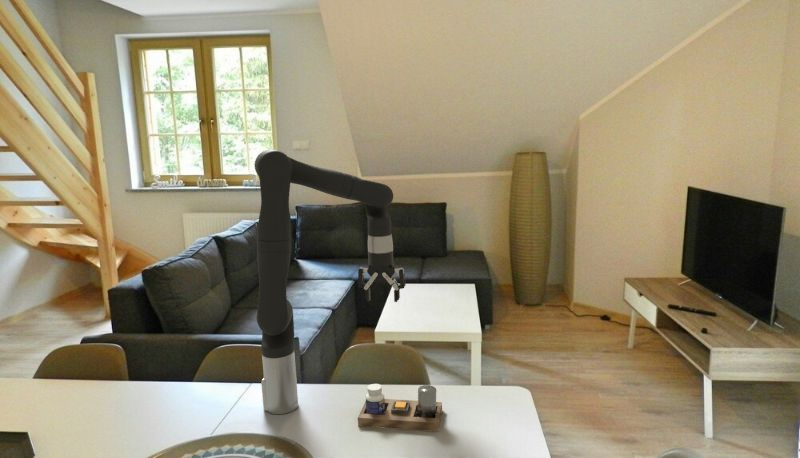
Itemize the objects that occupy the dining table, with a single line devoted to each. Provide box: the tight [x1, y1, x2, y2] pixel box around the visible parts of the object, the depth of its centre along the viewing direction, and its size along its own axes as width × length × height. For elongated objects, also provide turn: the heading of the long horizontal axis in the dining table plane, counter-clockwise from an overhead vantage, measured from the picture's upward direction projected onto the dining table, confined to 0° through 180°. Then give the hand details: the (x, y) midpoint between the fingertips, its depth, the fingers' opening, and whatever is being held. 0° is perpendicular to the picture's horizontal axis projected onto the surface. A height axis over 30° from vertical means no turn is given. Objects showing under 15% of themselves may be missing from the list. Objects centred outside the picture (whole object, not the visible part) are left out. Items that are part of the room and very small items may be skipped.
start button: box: [395, 402, 406, 409], centre depth 150 cm, size 3×3×1 cm
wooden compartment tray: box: [357, 398, 443, 432], centre depth 150 cm, size 22×11×4 cm, turn 80°
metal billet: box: [417, 384, 437, 418], centre depth 148 cm, size 5×5×9 cm
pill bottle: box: [365, 383, 386, 415], centre depth 151 cm, size 5×5×9 cm
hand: (382, 300), depth 164 cm, fingers open, 8 cm apart
